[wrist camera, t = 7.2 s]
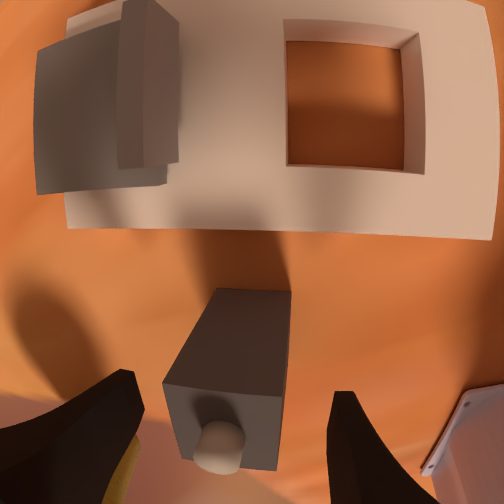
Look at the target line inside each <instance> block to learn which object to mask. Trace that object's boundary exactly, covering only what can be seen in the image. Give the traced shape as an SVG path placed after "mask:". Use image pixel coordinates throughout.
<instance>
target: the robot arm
mask: <svg viewBox="0 0 504 504" xmlns="http://www.w3.org/2000/svg"><path fill="white" fill-rule="evenodd" d="M144 410H145V408H144V405H143V401H142V398H141V395H140V391H139V388H138V384H137V381H136V377H135V374H134V371H129V370H124V369H119V370H117V371H116V372H114V373H112V374H111V375H109V376H108V377H106V378H105V379H103V380H102V381H100V382H99V383H97V384H96V385H94V386H92V387H91V388H89V389H88V390H86V391H85V392H83V393H82V394H80V395H78V396H77V397H75V398H73V399H72V400H70V401H68V402H66V403H65V404H63V405H61V406H59V407H58V408H56V409H54V410H52V411H50V412H48V413H46V414H43V415H41V416H38V417H36V418H34V419H31V420H28V421H26V422H22V423H19V424H16V425H13V426H10V427H6V428H2V429H0V504H102V501H103V498H104V495H105V493H106V490H107V488H108V485H109V482H110V480H111V478H112V476H113V474H114V472H115V470H116V468H117V466H118V464H119V463H120V461H121V459H122V457H123V455H124V454H125V452H126V450H127V448H128V446H129V445H130V443H131V441H132V439H133V437H134V435H135V433H136V432H137V429H138V427H139V424H140V422H141V419H142V416H143V413H144ZM326 454H327V465H328V475H329V486H330V497H331V504H504V384H500V385H494V386H489V387H483V388H477V389H471V390H468V391H466V392H465V393H464V394H463V395H462V397H461V399H460V401H459V403H458V405H457V408H456V410H455V412H454V414H453V416H452V418H451V419H450V421H449V423H448V425H447V427H446V429H445V431H444V433H443V434H442V436H441V438H440V440H439V442H438V443H437V445H436V447H435V448H434V450H433V452H432V453H431V455H430V457H429V458H428V460H427V462H426V463H425V465H424V466H423V468H422V469H421V471H420V474H421V476H429V475H431V477H432V481H433V485H434V489H435V493H436V497H437V500H436V499H434V498H433V497H432V496H431V495H430V494H429V493H427V492H426V491H425V490H424V489H423V488H422V487H421V486H419V485H418V483H417V482H416V481H415V480H414V479H413V478H412V477H411V476H410V475H409V474H408V473H407V472H406V471H405V470H404V469H403V468H402V466H401V465H400V464H399V463H398V462H397V460H396V459H395V458H394V457H393V455H392V454H391V452H390V451H389V450H388V448H387V447H386V446H385V444H384V443H383V441H382V440H381V438H380V437H379V435H378V434H377V432H376V431H375V429H374V428H373V426H372V424H371V423H370V421H369V419H368V418H367V416H366V414H365V412H364V410H363V409H362V407H361V405H360V403H359V401H358V399H357V397H356V395H355V393H354V392H353V391H335V393H334V398H333V403H332V408H331V413H330V417H329V422H328V426H327V453H326Z"/></svg>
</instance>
